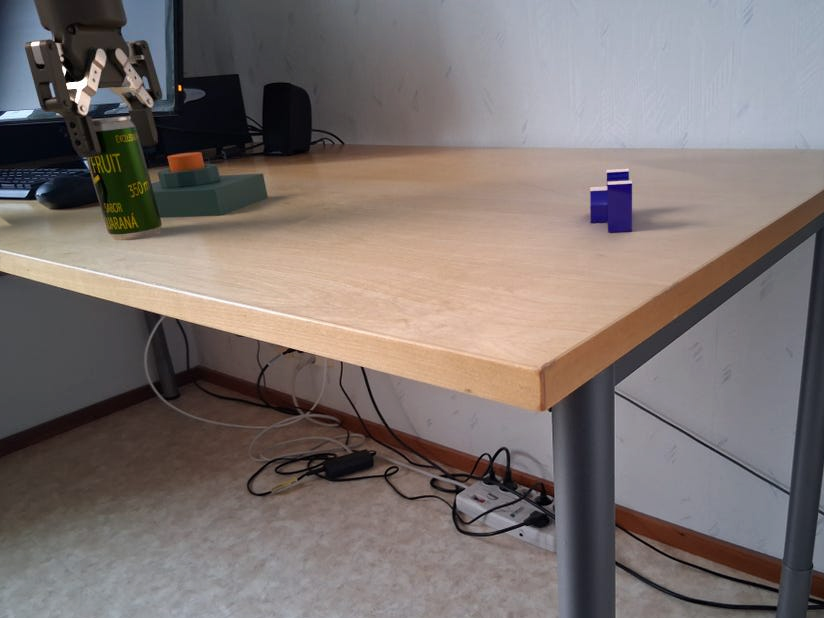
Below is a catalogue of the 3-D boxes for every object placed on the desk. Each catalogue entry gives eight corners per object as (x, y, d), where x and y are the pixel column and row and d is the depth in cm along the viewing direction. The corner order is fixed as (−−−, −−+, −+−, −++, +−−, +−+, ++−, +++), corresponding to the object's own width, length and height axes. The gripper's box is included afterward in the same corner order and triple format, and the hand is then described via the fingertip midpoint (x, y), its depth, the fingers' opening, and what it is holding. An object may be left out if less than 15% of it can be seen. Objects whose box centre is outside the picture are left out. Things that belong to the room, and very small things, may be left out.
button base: (121, 219, 85) (109, 178, 83) (177, 201, 95) (168, 164, 93) (220, 216, 82) (210, 172, 80) (268, 198, 92) (260, 159, 90)
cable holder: (590, 213, 67) (590, 171, 65) (628, 211, 66) (628, 168, 64) (590, 233, 59) (589, 185, 58) (631, 231, 59) (632, 183, 57)
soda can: (127, 231, 78) (95, 118, 73) (173, 228, 77) (143, 114, 73) (99, 242, 73) (63, 123, 68) (147, 239, 72) (114, 118, 68)
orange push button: (164, 174, 85) (160, 157, 85) (184, 169, 89) (180, 153, 88) (192, 173, 84) (188, 156, 84) (211, 168, 88) (207, 151, 87)
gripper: (94, -16, 73) (137, 144, 79) (-27, -29, 60) (36, 163, 66) (154, -25, 71) (193, 140, 77) (42, -40, 58) (100, 158, 65)
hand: (120, 150), depth 72 cm, fingers open, 8 cm apart
